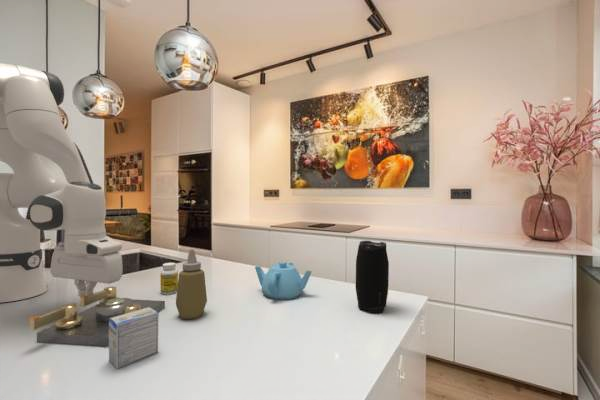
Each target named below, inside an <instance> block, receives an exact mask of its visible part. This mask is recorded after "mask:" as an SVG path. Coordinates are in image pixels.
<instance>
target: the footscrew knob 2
mask: <svg viewBox="0 0 600 400" xmlns="http://www.w3.org/2000/svg"><path fill="white" fill-rule="evenodd" d="M116 298H120V297H118V296H117V286H108V287H107V286H106V287H104V288H103V289H102V290H99V291H96V292H93V294H90V295H83V296H79V299H80V302H79V303H80V304H79V306H81V307H86V306H88V305H91V304H94V303H96V302H98V304H99V303H101V302H103V301H107V300H111V299H116Z"/></svg>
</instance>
